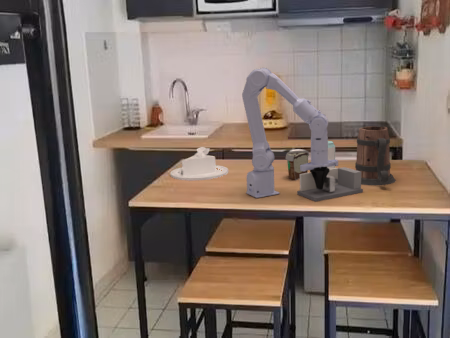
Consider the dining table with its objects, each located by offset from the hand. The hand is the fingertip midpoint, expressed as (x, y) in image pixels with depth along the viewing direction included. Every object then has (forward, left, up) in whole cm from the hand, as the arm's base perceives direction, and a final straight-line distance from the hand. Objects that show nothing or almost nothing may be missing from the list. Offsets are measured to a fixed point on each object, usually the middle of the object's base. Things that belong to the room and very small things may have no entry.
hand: (319, 188), depth 176 cm
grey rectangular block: (+5, 0, -1) cm, 5 cm away
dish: (-22, +57, -3) cm, 61 cm away
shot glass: (+19, +43, -3) cm, 47 cm away
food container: (+7, +27, -3) cm, 28 cm away
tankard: (+27, +3, -3) cm, 28 cm away
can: (+24, +29, -3) cm, 38 cm away
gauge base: (+4, 0, -2) cm, 5 cm away
